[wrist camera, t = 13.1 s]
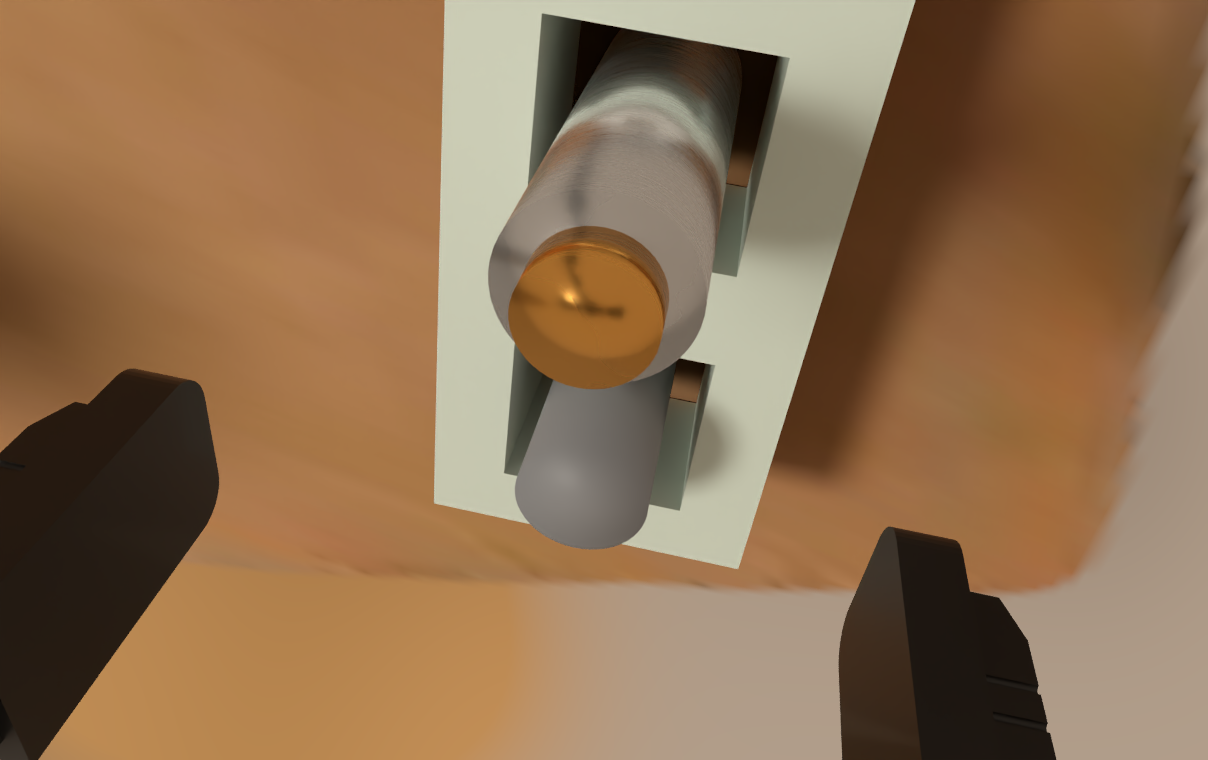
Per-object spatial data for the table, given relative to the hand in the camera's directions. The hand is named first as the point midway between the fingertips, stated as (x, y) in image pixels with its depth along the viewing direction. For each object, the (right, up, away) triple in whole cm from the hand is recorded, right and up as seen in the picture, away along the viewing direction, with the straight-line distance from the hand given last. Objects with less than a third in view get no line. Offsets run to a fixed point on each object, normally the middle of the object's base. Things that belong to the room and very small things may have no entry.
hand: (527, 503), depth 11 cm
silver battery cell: (+3, +9, +13) cm, 16 cm away
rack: (+2, +6, +15) cm, 17 cm away
